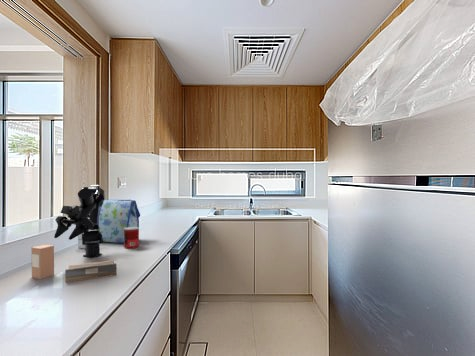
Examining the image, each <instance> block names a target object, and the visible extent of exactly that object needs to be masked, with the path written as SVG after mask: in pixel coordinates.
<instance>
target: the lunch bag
mask: <svg viewBox="0 0 475 356" xmlns="http://www.w3.org/2000/svg"><path fill="white" fill-rule="evenodd" d="M140 217H141V213H140V210H139V207H138V204H137V202H136V200H132V199H105V200H104V202H103V205H102V206H101V207H100V209H99V218H98V226H99V229H100V232H101V234H102V237H103V243H121V244H124V228H127V227H139V228H140Z"/></svg>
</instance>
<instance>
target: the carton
mask: <svg viewBox="0 0 475 356" xmlns="http://www.w3.org/2000/svg"><path fill="white" fill-rule="evenodd" d="M54 275H55V245H52V244H51V245H50V244H42V245H36V246H32V247H31V278H33V279H38V280H41V279H42V280H43V279H46V278H49V277H52V276H54Z"/></svg>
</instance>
